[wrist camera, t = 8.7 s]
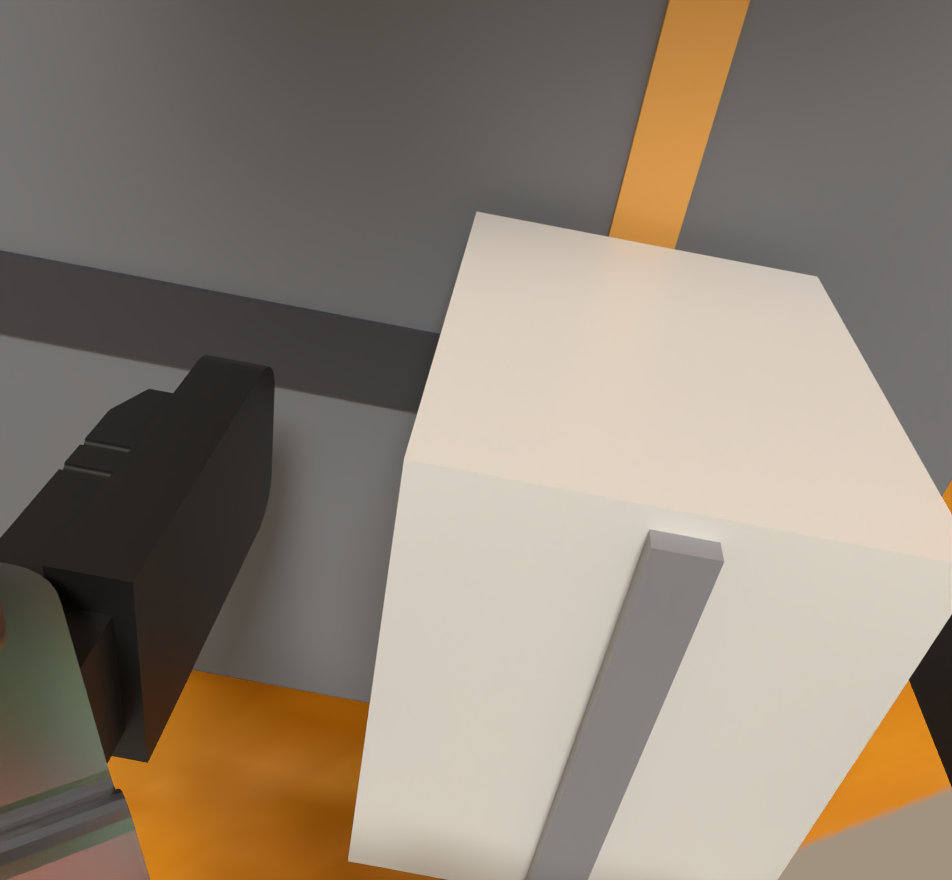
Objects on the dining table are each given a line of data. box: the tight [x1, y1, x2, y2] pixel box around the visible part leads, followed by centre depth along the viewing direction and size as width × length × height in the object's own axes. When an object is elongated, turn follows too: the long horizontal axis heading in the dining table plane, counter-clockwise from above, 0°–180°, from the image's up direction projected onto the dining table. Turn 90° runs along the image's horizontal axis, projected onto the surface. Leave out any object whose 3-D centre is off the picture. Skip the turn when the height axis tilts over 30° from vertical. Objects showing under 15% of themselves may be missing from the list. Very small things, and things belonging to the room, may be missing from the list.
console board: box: [0, 0, 952, 703], centre depth 13 cm, size 22×14×3 cm, turn 81°
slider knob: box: [348, 212, 952, 880], centre depth 9 cm, size 4×5×5 cm
